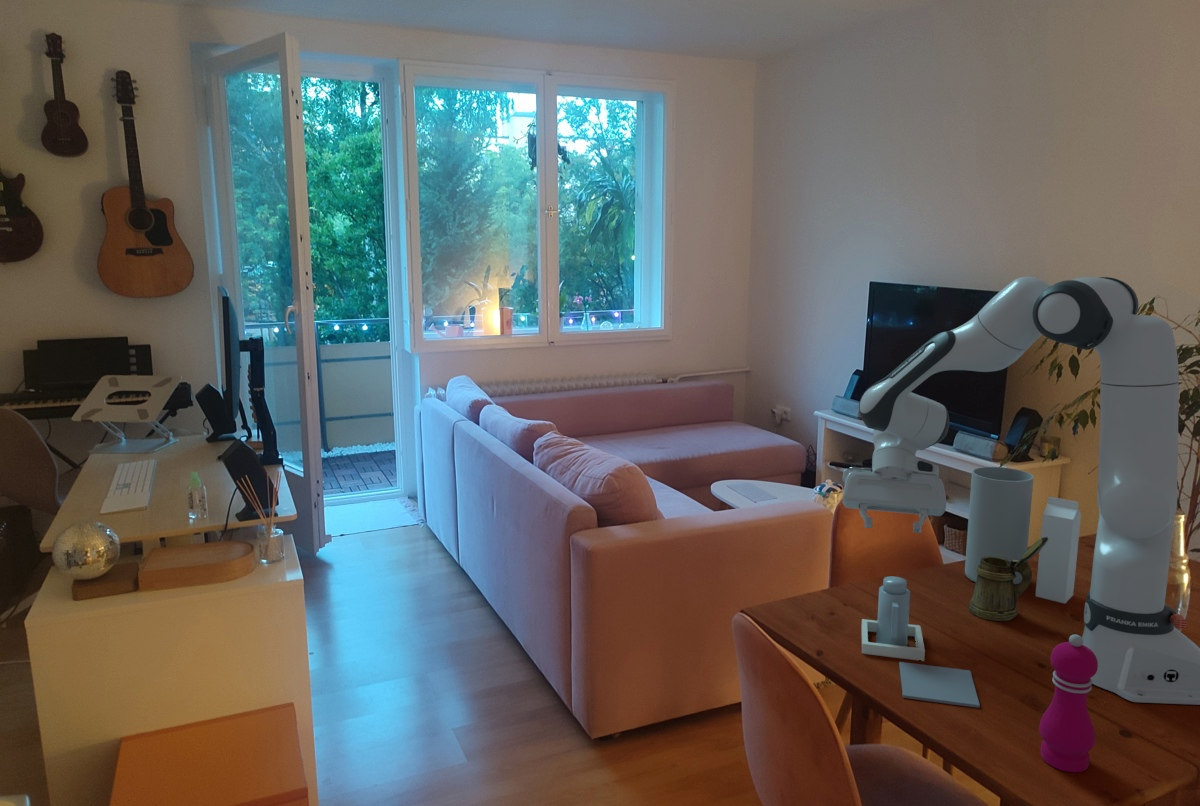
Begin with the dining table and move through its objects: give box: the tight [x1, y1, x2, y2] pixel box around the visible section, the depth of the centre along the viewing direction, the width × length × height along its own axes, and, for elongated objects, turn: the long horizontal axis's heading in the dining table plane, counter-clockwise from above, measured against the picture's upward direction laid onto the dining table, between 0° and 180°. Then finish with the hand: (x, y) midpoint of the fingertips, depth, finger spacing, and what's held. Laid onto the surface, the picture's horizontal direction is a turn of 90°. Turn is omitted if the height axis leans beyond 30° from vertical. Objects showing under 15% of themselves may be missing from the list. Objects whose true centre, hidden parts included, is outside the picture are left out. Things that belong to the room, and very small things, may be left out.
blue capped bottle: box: [875, 575, 911, 647], centre depth 158 cm, size 6×8×13 cm
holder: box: [861, 618, 926, 662], centre depth 160 cm, size 11×11×2 cm
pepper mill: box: [1038, 634, 1098, 773], centre depth 122 cm, size 7×7×20 cm
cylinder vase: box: [964, 466, 1035, 584], centre depth 189 cm, size 12×12×25 cm
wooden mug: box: [968, 537, 1048, 622], centre depth 171 cm, size 9×14×18 cm, turn 60°
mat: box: [898, 661, 981, 709], centre depth 145 cm, size 12×12×1 cm
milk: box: [1035, 496, 1082, 605], centre depth 179 cm, size 6×6×22 cm
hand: (892, 529), depth 169 cm, fingers open, 8 cm apart
